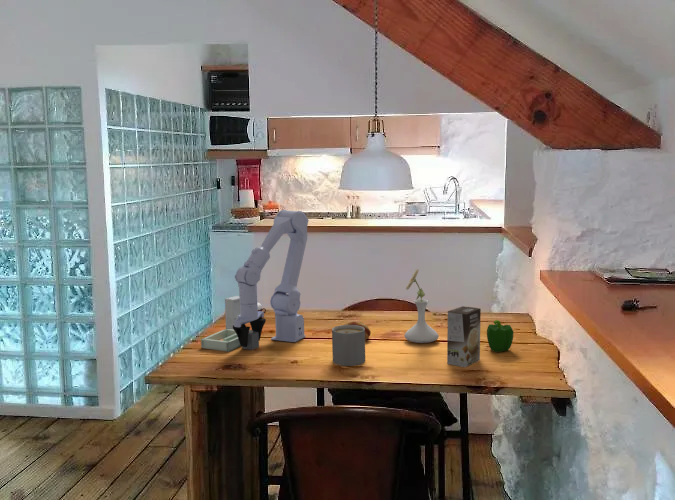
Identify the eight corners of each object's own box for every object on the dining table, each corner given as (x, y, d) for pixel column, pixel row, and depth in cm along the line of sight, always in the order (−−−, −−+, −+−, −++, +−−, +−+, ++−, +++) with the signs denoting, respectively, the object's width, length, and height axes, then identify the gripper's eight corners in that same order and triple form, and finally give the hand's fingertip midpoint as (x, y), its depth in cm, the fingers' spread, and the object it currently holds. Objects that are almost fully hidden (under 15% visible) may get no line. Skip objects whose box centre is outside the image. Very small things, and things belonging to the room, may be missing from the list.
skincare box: (233, 332, 236) (232, 299, 235) (225, 330, 239) (224, 298, 237) (246, 328, 241) (244, 296, 239) (237, 327, 244) (236, 295, 242)
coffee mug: (363, 366, 196) (363, 333, 194) (330, 365, 197) (329, 333, 195) (367, 352, 209) (366, 322, 207) (336, 352, 210) (335, 321, 209)
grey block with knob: (259, 346, 218) (258, 329, 217) (252, 350, 215) (251, 332, 214) (248, 345, 220) (248, 328, 219) (242, 348, 216) (241, 331, 216)
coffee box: (465, 368, 192) (466, 314, 190) (446, 364, 196) (446, 311, 194) (480, 360, 199) (481, 308, 197) (461, 356, 203) (461, 305, 201)
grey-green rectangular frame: (252, 340, 226) (252, 331, 225) (229, 351, 213) (228, 342, 213) (226, 337, 231) (225, 328, 230) (201, 348, 218) (201, 339, 218)
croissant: (354, 340, 236) (344, 320, 236) (379, 328, 233) (368, 308, 233) (340, 357, 216) (329, 335, 216) (367, 344, 213) (355, 322, 213)
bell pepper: (502, 345, 214) (502, 315, 212) (518, 351, 206) (518, 320, 205) (480, 348, 211) (480, 317, 209) (495, 355, 203) (495, 323, 202)
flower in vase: (413, 334, 228) (412, 263, 225) (443, 338, 222) (444, 265, 219) (396, 344, 217) (395, 269, 214) (428, 348, 211) (428, 272, 208)
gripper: (250, 297, 223) (252, 336, 225) (225, 306, 210) (227, 348, 212) (268, 299, 220) (269, 338, 222) (244, 308, 207) (245, 350, 209)
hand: (250, 343), depth 217 cm, fingers open, 7 cm apart
